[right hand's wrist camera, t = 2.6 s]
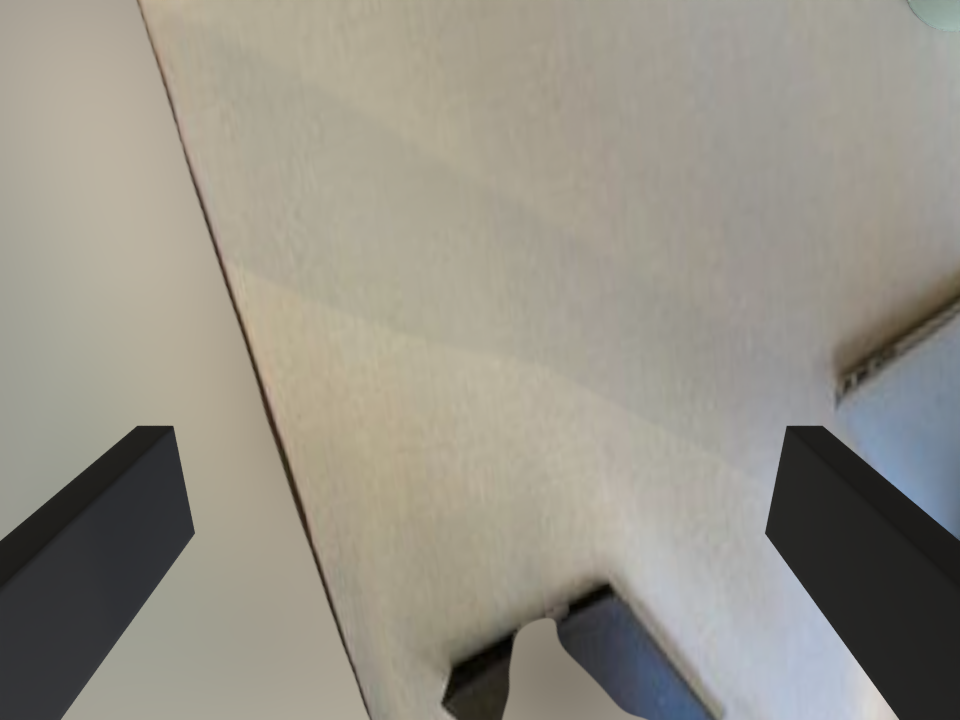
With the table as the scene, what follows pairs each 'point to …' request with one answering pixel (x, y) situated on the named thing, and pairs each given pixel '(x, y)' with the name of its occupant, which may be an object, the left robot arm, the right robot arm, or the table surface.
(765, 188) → the table surface
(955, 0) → the jar
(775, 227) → the table surface
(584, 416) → the table surface
